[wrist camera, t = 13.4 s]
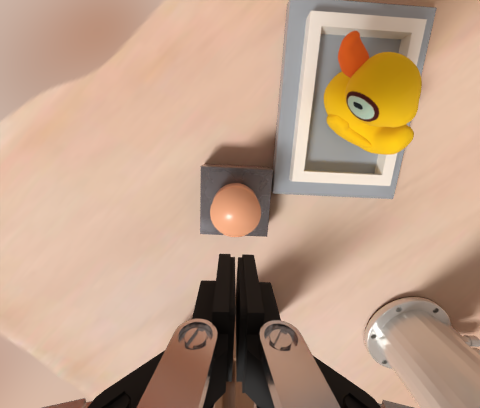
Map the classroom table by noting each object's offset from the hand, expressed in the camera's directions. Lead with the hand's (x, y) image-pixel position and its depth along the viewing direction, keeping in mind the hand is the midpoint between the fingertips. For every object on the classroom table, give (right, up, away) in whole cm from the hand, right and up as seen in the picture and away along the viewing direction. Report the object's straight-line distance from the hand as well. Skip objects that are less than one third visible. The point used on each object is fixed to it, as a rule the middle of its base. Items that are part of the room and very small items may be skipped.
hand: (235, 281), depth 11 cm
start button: (0, +4, +14) cm, 15 cm away
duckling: (+12, +14, +15) cm, 24 cm away
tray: (+12, +15, +16) cm, 25 cm away
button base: (0, +5, +18) cm, 19 cm away
